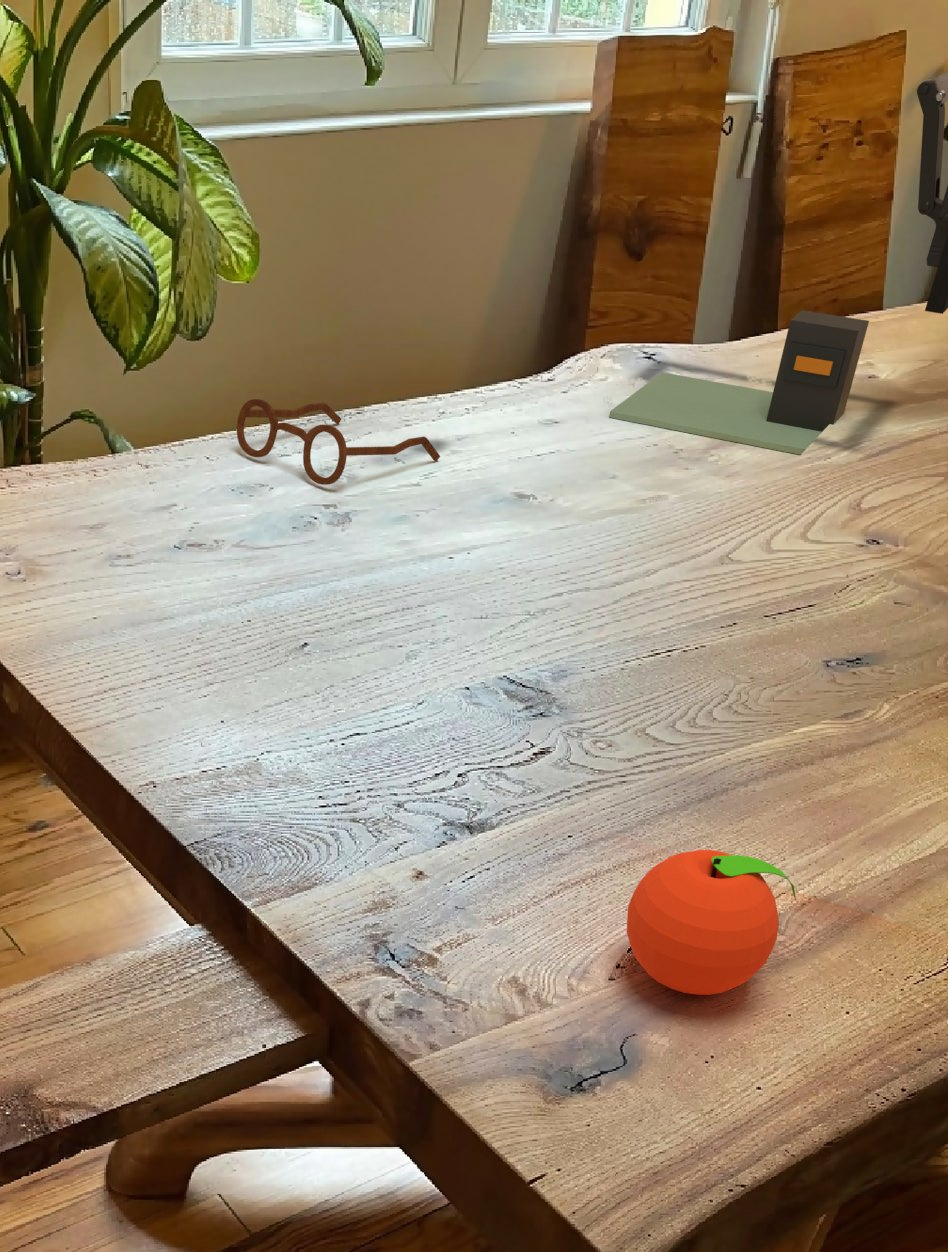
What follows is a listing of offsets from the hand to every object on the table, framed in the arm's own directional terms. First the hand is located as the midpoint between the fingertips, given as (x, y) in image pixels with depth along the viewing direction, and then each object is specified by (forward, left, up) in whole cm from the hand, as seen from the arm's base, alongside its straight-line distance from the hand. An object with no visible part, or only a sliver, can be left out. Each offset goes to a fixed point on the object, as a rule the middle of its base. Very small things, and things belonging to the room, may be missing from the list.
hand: (936, 308), depth 127 cm
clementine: (-9, +87, -12) cm, 88 cm away
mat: (+14, 0, -12) cm, 18 cm away
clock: (+9, 0, -11) cm, 14 cm away
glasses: (+41, +32, -12) cm, 53 cm away
